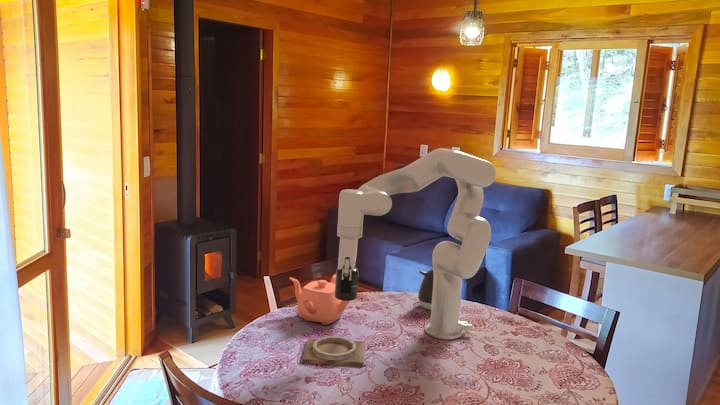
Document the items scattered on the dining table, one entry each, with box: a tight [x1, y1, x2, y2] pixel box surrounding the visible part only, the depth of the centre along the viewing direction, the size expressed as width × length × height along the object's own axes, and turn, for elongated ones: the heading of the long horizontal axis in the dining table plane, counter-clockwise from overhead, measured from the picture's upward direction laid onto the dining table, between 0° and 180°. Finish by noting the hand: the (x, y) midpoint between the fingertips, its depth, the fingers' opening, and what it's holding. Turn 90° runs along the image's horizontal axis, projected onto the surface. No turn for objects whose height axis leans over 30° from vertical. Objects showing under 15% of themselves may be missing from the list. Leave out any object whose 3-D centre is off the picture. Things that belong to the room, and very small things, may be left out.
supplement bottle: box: [335, 258, 359, 302], centre depth 162 cm, size 7×7×12 cm
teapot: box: [289, 273, 351, 326], centre depth 189 cm, size 18×18×14 cm
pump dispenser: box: [417, 268, 433, 311], centre depth 203 cm, size 10×10×15 cm
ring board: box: [301, 335, 365, 367], centre depth 163 cm, size 18×14×3 cm
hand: (346, 287), depth 163 cm, fingers closed on supplement bottle, 6 cm apart
